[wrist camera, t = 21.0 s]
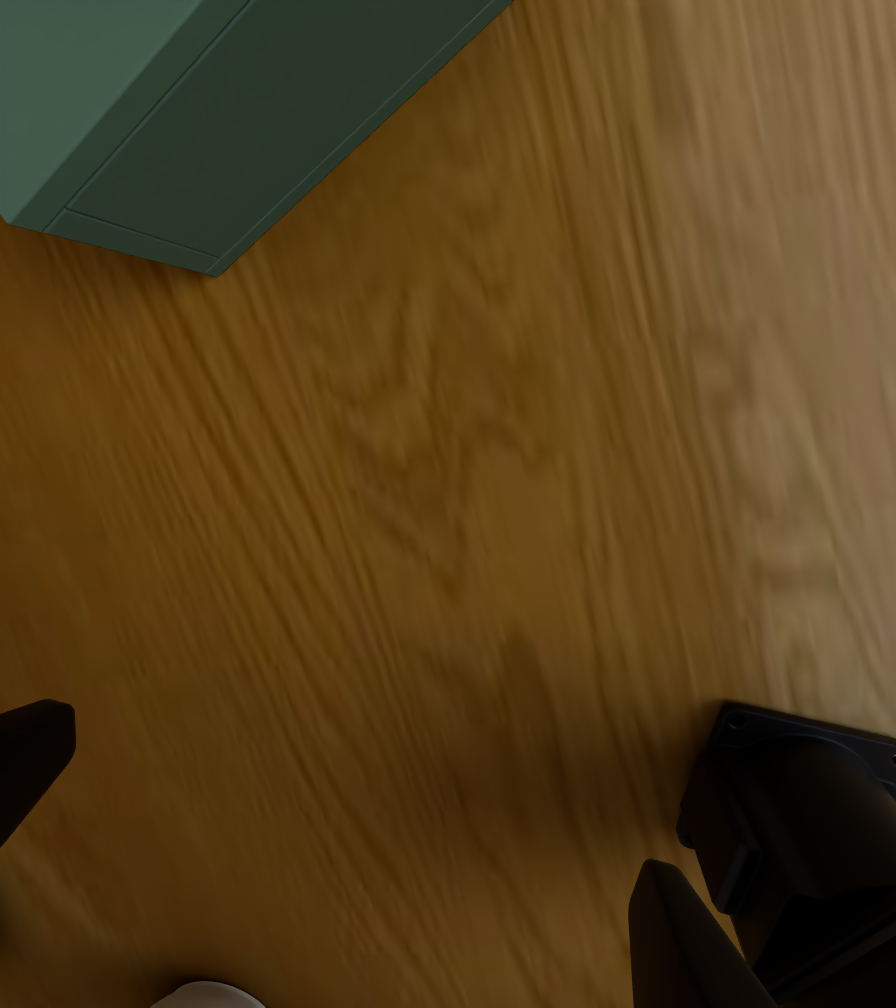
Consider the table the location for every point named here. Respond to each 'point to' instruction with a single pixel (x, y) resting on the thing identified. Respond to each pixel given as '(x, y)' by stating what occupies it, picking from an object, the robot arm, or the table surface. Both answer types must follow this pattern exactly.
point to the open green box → (262, 123)
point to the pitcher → (208, 997)
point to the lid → (85, 87)
